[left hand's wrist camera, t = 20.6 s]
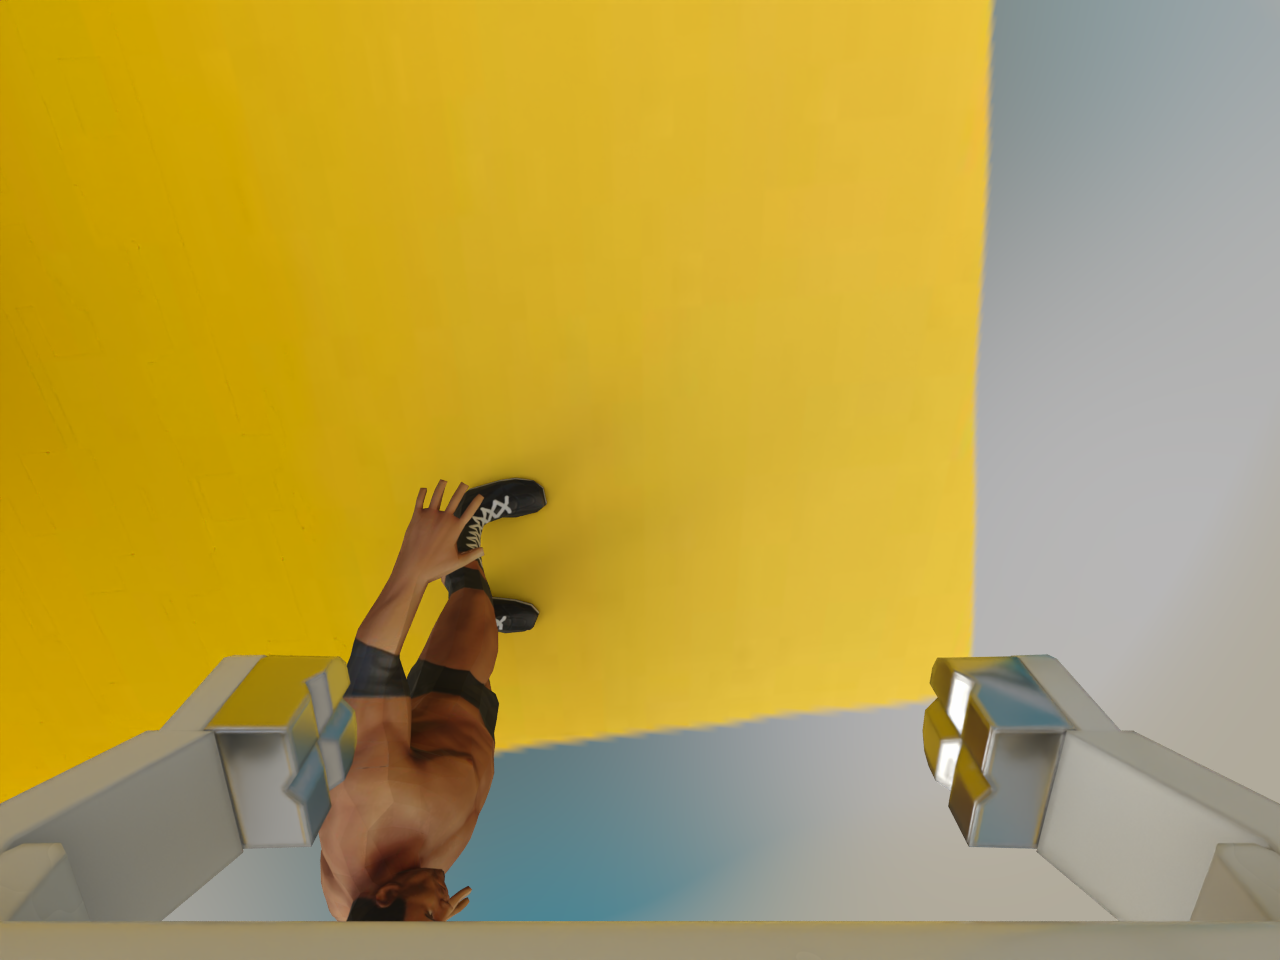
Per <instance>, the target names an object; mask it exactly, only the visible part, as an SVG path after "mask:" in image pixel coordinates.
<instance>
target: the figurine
mask: <svg viewBox="0 0 1280 960" xmlns="http://www.w3.org/2000/svg"><path fill="white" fill-rule="evenodd" d="M446 484H447V481H444V480H441V479H440V481H439V483H438V485H437V487H436V489H435V491H434V494H433V496H432V499H431V502H430V505H429V508H425V509H423V503H424V499H425V496H426V492H427V488H420V491H419V494H418V497H417V500H416V505H415V510H414V513H413V516H412V519H411V522H410V524H409V526H408V528H407V530H406V533H405V536H404V540H403V543H402V547H401V550H400V552H399V555H398V558H397V560H396V563H395V566H394V568H393V571H392V574H391V576H390V578H389V580H388V581H387V583H386V585H385V587H384V588H383V590H382V592H381V594H380V595H379V597H378V599H377V600H376V602H375V603H374V605H373V606H372V608H371V609H370V611H369V613H368V614H367V616H366V617H365V619H364V620H363V622H362V624H361V625H360V627H359V628H358V631H357V634H356V637H355V640H354V644H353V648H352V652H351V656H350V659H349V661H348V664H347V669H348V674H349V679H350V685H349V686H348V688H347V690H346V692H345V693H344V695H343V697H342V698H343V699H344V700H345V701H346V702H347V703H348V704H349V705H350V706H351V707H352V708H353V709H354V710H355V715H356V722H357V744H356V749H355V753H354V758H353V763H352V765H351V768H350V770H349V772H348V774H347V776H346V778H345V780H344V781H343V782H342V783H340V784H339V785H337V786H336V787H335V788H333V789H332V790H330V791H329V794H330V799H331V805H332V807H331V809H330V811H329V813H328V815H327V817H326V818H325V820H324V822H323V824H322V826H321V828H320V830H319V837H320V842H321V847H322V850H321V860H320V862H321V884H322V888H323V892H324V895H325V898H326V901H327V904H328V908H329V911H330V913H331V914H332V916H333V917H335V918H336V920H337V921H446V920H448V919H449V918H451V917H452V916H453V915H455V914H457V913H459V912H460V911H461V910H462V909H463V908H464V907H466V906H467V904H468V903H469V899H468V898H465V899H463V898H464V897H466V896H467V895H468V894H470V892H471V890H472V889H471V888H470V887H469V886H467V887H465V888H464V889H462V890H460V891H459V892H458V893H456V894H455V895H454V896H452V897H451V898H450V899H449V895H448V890H447V887H446V885H445V882H444V880H445V873H446V872H447V871H448V869H449V868H450V867H451V866H452V864H453V863H454V862H455V861H456V859H457V858H458V857H459V855H460V854H461V852H462V851H463V850H464V848H465V847H466V845H467V843H468V842H469V840H470V838H471V835H472V833H473V830H474V828H475V825H476V822H477V819H478V815H479V813H480V811H481V809H482V807H483V805H484V803H485V800H486V798H487V795H488V792H489V790H490V786H491V783H492V779H493V775H494V748H495V738H494V730H495V725H496V720H497V713H498V707H499V702H498V700H497V697H496V694H495V693H494V692H492V691H491V686H490V681H489V677H490V675H491V673H492V671H493V669H494V665H495V661H496V657H497V653H498V632H502V633H512V632H522V631H526V630H531V629H532V628H533V627H534V624H535V622H536V619H537V617H538V614H539V611H538V610H537V609H536V608H535V607H534V606H533V605H532V604H530V603H526V602H523V601H519V600H516V599H506V598H496V597H492V594H491V591H490V588H489V585H488V583H487V580H486V578H485V574H484V570H483V566H482V560H481V556H483V555H484V552H483V548H482V547H480V537H481V533H482V529H483V525H485V524H486V523H488V522H491V521H494V520H497V519H500V518H502V517H519V516H523V515H527V514H531V513H535V512H538V511H539V510H540V509H541V508H543V507H544V506H545V505H546V503H547V502H546V497H545V493H544V489H543V487H542V486H541V485H539V484H538V483H536V482H535V481H533V480H527V479H520V478H511V479H505V480H499V481H496V482H492V483H489V484H485V485H482V486H478V487H475V488H471V489H469V490H468V491H467V492H466V490H467V488H468V487H469V486H468V485H466V484H464V483H462V482H461V483H460V485H459V487H458V488H457V490H456V492H455V493H454V495H453V496H452V498H451V500H450V502H449V504H448V506H447V508H446V510H445V511H439V509H440V505H441V501H442V497H443V493H444V489H445V486H446ZM465 492H466V493H465ZM439 578H441V581H442V582H443V584H444V585H445V587H446V589H447V590H448V592H449V600H448V602H447V604H446V605H445V607H444V609H443V611H442V612H441V614H440V616H439V618H438V620H437V622H436V624H435V625H434V627H433V629H432V632H431V634H430V636H429V638H428V640H427V643H426V645H425V647H424V649H423V651H422V653H421V654H420V656H419V658H418V660H417V662H416V664H415V665H414V666H413V667H412V668H411V670H410V672H409V674H408V677H407V679H406V676H405V673H404V670H403V667H402V664H401V661H400V651H401V649H402V646H403V643H404V640H405V638H406V635H407V633H408V631H409V628H410V626H411V623H412V621H413V618H414V616H415V614H416V611H417V609H418V606H419V604H420V601H421V599H422V596H423V594H424V591H425V589H426V587H427V585H428V583H430V582H432V581H434V580H437V579H439ZM462 899H463V900H462ZM461 900H462V901H461ZM459 901H460V902H459Z"/></svg>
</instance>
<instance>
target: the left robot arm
mask: <svg viewBox="0 0 1280 960" xmlns="http://www.w3.org/2000/svg"><path fill="white" fill-rule="evenodd" d="M349 685H350V679H349V674H348V669H347V665H346V662H345V661H344V660H343V659H342V658H341V657H330V656H283V655H269V656H266V655H233V656H229V657H226V658H224V659H223V660H222V661H221V662H220V663H219V664H218V665H217V666H216V667H215V669H214V670H213V671H212V672H211V673H210V674H209V675H208V676H207V678H206V679H205V680H204V681H203V682H202V683H201V684H200V685H199V687H198V688H197V689H196V690H195V691H194V692H193V693H192V694H191V696H190V697H189V698H188V699H187V700H186V701H185V702H184V703H183V704H182V706H181V707H180V708H179V709H178V710H177V711H176V712H175V713H174V715H173V716H172V717H171V718H170V719H169V720H168V721H167V722H166V724H165V725H164V726H163V727H162V728H161V729H160V730H159V731H146V732H144V733H142V734H140V735H138V736H136V737H134V738H132V739H130V740H127V741H125V742H123V743H121V744H119V745H117V746H115V747H113V748H111V749H109V750H107V751H105V752H103V753H101V754H99V755H97V756H95V757H93V758H91V759H89V760H87V761H85V762H83V763H81V764H79V765H77V766H75V767H73V768H71V769H69V770H67V771H65V772H63V773H61V774H59V775H57V776H55V777H53V778H51V779H49V780H47V781H45V782H43V783H41V784H39V785H37V786H35V787H33V788H31V789H29V790H27V791H25V792H23V793H21V794H19V795H17V796H15V797H13V798H11V799H9V800H7V801H5V802H3V803H1V804H0V960H1280V804H1279V803H1277V802H1275V801H1273V800H1271V799H1269V798H1267V797H1265V796H1263V795H1261V794H1259V793H1257V792H1255V791H1253V790H1251V789H1249V788H1247V787H1245V786H1243V785H1241V784H1239V783H1237V782H1235V781H1233V780H1231V779H1229V778H1227V777H1225V776H1223V775H1221V774H1219V773H1217V772H1215V771H1213V770H1211V769H1209V768H1207V767H1205V766H1203V765H1200V764H1199V763H1197V762H1195V761H1193V760H1191V759H1189V758H1187V757H1185V756H1182V755H1181V754H1178V753H1176V752H1175V751H1173V750H1170V749H1168V748H1166V747H1164V746H1162V745H1160V744H1158V743H1156V742H1154V741H1152V740H1150V739H1148V738H1146V737H1144V736H1142V735H1140V734H1138V733H1136V732H1134V731H1121V730H1120V729H1119V728H1118V727H1117V726H1116V725H1115V724H1114V722H1113V721H1112V720H1111V719H1110V718H1109V717H1108V716H1107V715H1106V714H1105V712H1104V711H1103V710H1102V709H1101V708H1100V707H1099V706H1098V704H1097V703H1096V702H1095V701H1094V700H1093V699H1092V698H1091V697H1090V696H1089V694H1088V693H1087V692H1086V691H1085V690H1084V689H1083V688H1082V687H1081V685H1080V684H1079V683H1078V682H1077V681H1076V680H1075V679H1074V678H1073V676H1072V675H1071V674H1070V673H1069V672H1068V671H1067V670H1066V669H1065V668H1064V666H1063V665H1062V664H1061V663H1060V662H1059V661H1058V660H1057V659H1056V658H1054V657H1052V656H1050V655H1020V656H1010V657H950V658H937V659H936V661H935V663H934V666H933V668H932V673H931V679H930V685H931V686H932V688H933V690H934V692H935V693H936V695H937V697H938V698H937V699H936V700H935V701H934V702H933V703H932V704H931V705H930V706H929V707H928V708H927V709H926V710H925V716H924V724H923V741H924V751H925V755H926V758H927V762H928V765H929V768H930V770H931V772H932V774H933V776H934V778H935V780H936V781H937V782H938V783H940V784H941V785H943V786H944V787H945V788H947V789H948V790H950V791H951V794H950V799H949V805H948V807H949V809H950V810H951V813H952V815H953V816H954V818H955V820H956V822H957V824H958V826H959V828H960V830H961V832H962V834H963V836H964V838H965V840H966V842H967V844H968V846H969V847H996V848H1032V849H1037V853H1039V854H1040V855H1041V856H1042V857H1043V858H1044V859H1046V860H1047V861H1048V862H1049V863H1051V864H1052V865H1053V866H1054V867H1055V868H1056V869H1058V870H1059V871H1060V872H1061V873H1062V874H1064V875H1065V876H1066V877H1067V878H1068V879H1070V880H1071V881H1072V882H1073V883H1074V884H1075V885H1077V886H1078V887H1079V888H1080V889H1082V890H1083V891H1084V892H1085V893H1086V894H1087V895H1089V896H1090V897H1091V898H1092V899H1093V900H1095V901H1096V902H1097V903H1098V904H1099V905H1101V906H1102V907H1103V908H1104V909H1105V910H1107V911H1108V912H1109V913H1110V914H1111V915H1113V916H1114V917H1115V918H1116V919H1117V920H1118V921H565V922H563V921H557V922H555V921H535V922H534V921H528V922H527V921H162V920H163V919H164V918H165V917H167V916H168V915H169V914H170V913H171V912H172V911H174V910H175V909H176V908H177V907H178V906H180V905H181V904H182V903H183V902H184V901H186V900H187V899H188V898H189V897H190V896H192V895H193V894H194V893H195V892H196V891H198V890H199V889H200V888H201V887H202V886H204V885H205V884H206V883H207V882H208V881H210V880H211V879H212V878H213V877H214V876H216V875H217V874H218V873H219V872H220V871H222V870H223V869H224V868H225V867H226V866H228V865H229V864H230V863H231V862H232V861H233V860H235V859H236V858H237V857H238V856H239V855H241V854H242V853H243V849H247V848H282V847H311V846H312V844H313V842H314V840H315V838H316V836H317V834H318V832H319V830H320V828H321V826H322V824H323V822H324V820H325V818H326V817H327V815H328V813H329V811H330V809H331V807H332V805H331V799H330V794H329V791H330V790H332V789H333V788H335V787H336V786H337V785H339V784H340V783H342V782H343V781H344V780H345V778H346V776H347V774H348V772H349V770H350V768H351V765H352V763H353V758H354V753H355V749H356V744H357V722H356V715H355V710H354V709H353V708H352V707H351V706H350V705H349V704H348V703H347V702H346V701H345V700H344V699H343V698H342V697H343V695H344V693H345V692H346V690H347V688H348V686H349Z"/></svg>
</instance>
